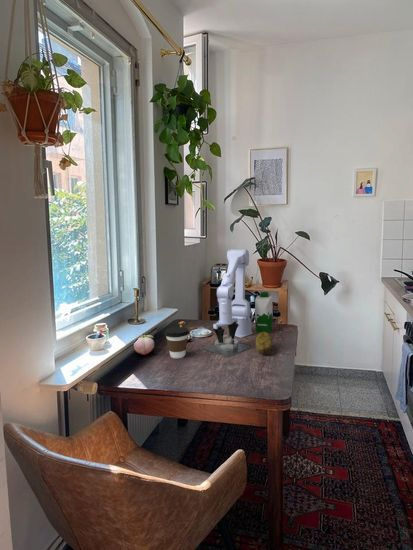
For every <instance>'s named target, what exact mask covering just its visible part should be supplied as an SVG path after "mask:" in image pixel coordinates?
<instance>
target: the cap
mask: <svg viewBox="0 0 413 550" xmlns="http://www.w3.org/2000/svg"><path fill="white" fill-rule="evenodd" d="M229 343H232V337H231V336H230V335H229V334H223V343H222V344H229Z"/></svg>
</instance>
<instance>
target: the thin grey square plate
mask: <svg viewBox="0 0 413 550" xmlns="http://www.w3.org/2000/svg"><path fill="white" fill-rule="evenodd" d="M251 348H252V346H249V345H247V344H243V343H239V340H238V339H237V338H234V339H232V343H229V344H222V343H219V342H218V338H217V339H215V341H214V343H213V344H211V345H207V346H204V347H202V348H201V350H203V351H206V352H210V353H213V354H215V355H219V356H221V357H224V358H229V357H233V356H235V355H238V354H240V353H242V352H245V351H247V350H249V349H251Z"/></svg>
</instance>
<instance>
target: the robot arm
mask: <svg viewBox="0 0 413 550" xmlns="http://www.w3.org/2000/svg"><path fill="white" fill-rule="evenodd" d="M226 259H227V262H228V265H227V271H226V273H224V274H223V278H222V280H221V284H220V285H219V286H218V287H217V288H216V297H217V302H218V310H219V313H218V314H219V319H218V321H217V322H216V323H213V324H212V326H213V328H212V330H213V332H214V333H215V335H216V338H217V339H218V342H219V343H223V335H225V334H224V333H225V331H226V330H225V329H224V328H223V327H226V326H227V329H228V335H230V336H231V337H232V339H235V337H238V338H240V339H241V338H245V337H247V336H250V335H252V334H254V333H253V331H252V330H253V328H252V319H251V317H250V316H251V311H252V309H251V303H250V301H248V300H247V299H246V298H245V297H246V296H245V294H246V293H245V292H246V290H245V289H246V267H247V266H249V263H250V253H249V250H248V249H247V248H245V249H242V248H241V249H231V248H229V249H228V250H227V252H226ZM234 286H235V288H234ZM234 289H235V290H234ZM234 292H235V293H234ZM234 296H235V297H234ZM233 297H234V299H233Z"/></svg>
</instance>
